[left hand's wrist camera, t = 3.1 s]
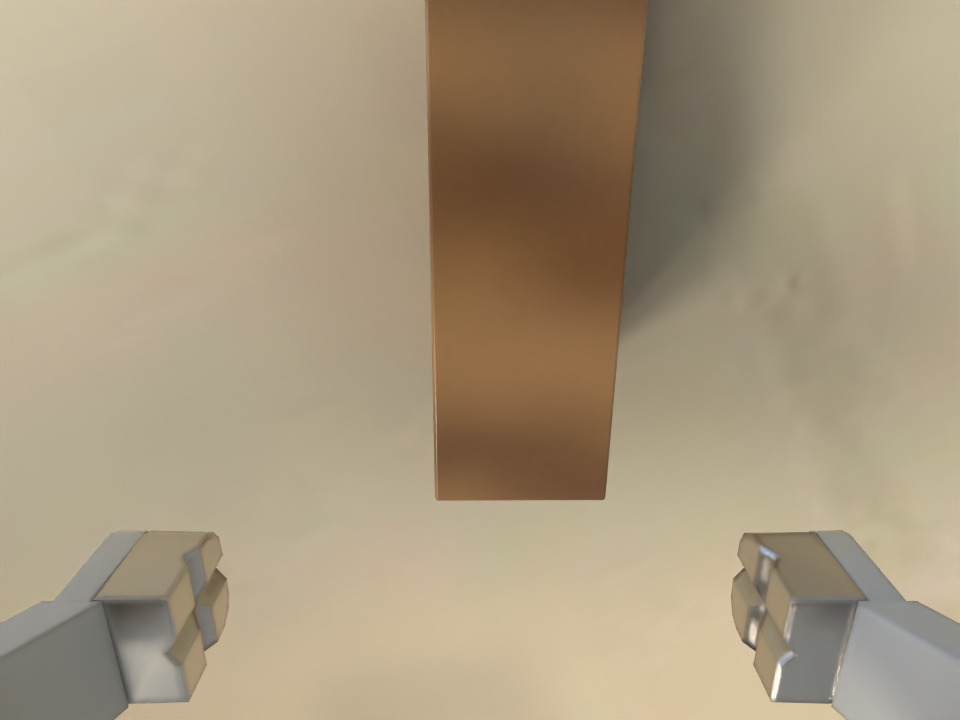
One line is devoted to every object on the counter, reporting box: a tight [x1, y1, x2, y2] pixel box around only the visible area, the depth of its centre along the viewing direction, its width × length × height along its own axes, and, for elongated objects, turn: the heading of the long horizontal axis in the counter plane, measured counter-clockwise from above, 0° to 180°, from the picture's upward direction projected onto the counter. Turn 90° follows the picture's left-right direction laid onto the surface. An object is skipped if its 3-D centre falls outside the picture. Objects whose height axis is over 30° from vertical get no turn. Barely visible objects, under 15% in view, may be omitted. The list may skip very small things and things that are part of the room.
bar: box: [425, 0, 648, 500], centre depth 20 cm, size 27×5×10 cm, turn 0°
